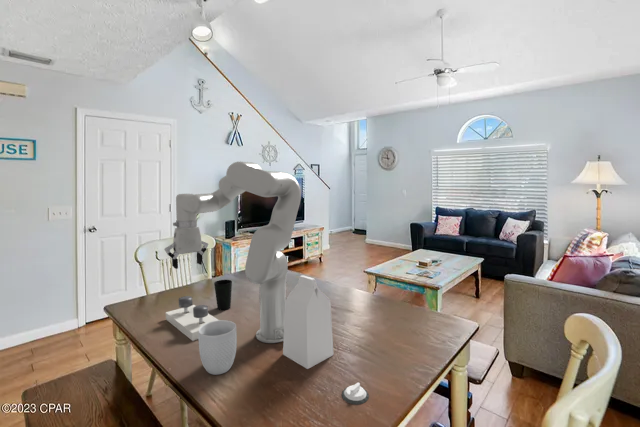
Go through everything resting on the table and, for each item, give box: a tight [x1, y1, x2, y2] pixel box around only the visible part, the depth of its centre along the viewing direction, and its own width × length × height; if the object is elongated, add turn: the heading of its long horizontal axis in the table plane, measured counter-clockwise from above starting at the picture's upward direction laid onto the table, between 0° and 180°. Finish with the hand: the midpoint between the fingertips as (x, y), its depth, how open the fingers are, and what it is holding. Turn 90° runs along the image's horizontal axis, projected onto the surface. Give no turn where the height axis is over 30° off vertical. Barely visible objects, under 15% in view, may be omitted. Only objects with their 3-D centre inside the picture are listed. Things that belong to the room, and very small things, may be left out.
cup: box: [214, 279, 233, 312], centre depth 147 cm, size 8×8×12 cm
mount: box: [165, 304, 219, 342], centre depth 131 cm, size 26×12×3 cm, turn 45°
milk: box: [282, 275, 334, 370], centre depth 107 cm, size 12×12×26 cm
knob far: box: [178, 295, 194, 313], centre depth 135 cm, size 5×5×6 cm
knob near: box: [193, 304, 209, 324], centre depth 125 cm, size 5×5×6 cm
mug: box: [197, 319, 238, 376], centre depth 101 cm, size 15×11×13 cm
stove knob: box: [341, 381, 370, 406], centre depth 87 cm, size 7×7×3 cm
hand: (187, 265), depth 134 cm, fingers open, 9 cm apart
